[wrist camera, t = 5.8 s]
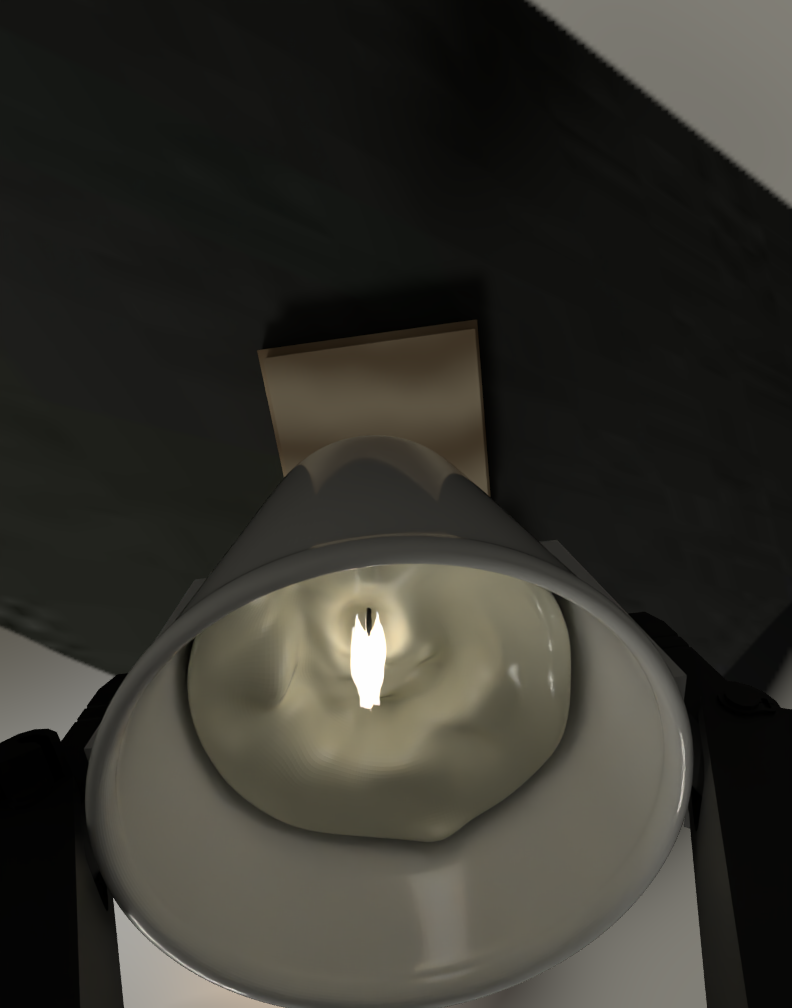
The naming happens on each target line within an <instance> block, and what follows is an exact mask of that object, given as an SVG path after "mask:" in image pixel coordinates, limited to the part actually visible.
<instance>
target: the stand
mask: <svg viewBox="0 0 792 1008" xmlns="http://www.w3.org/2000/svg"><path fill="white" fill-rule="evenodd" d="M257 351H258V356H259V361H260V366H261V370H262V375H263V380H264V385H265V389H266V394H267V399H268V403H269V408H270V413H271V418H272V422H273V427H274V432H275V437H276V441H277V446H278V451H279V456H280V460H281V465H282V470H283V474H284V477H285V476H286V475H287V474H288V473H289V472H290V471H291V470H292V469H293V468H294V467H295V466H296V465H297V464H298V463H299V462H301V461H302V460H303V459H305V458H306V457H307V456H309V455H310V454H312V453H313V452H315V451H317V450H319V449H320V448H322V447H324V446H327V445H329V444H331V443H334V442H337V441H340V440H343V439H347V438H351V437H357V436H365V435H385V436H394V437H399V438H403V439H407V440H411V441H414V442H416V443H419V444H421V445H424V446H426V447H428V448H430V449H432V450H433V451H435V452H437V453H438V454H440V455H441V456H443V457H444V458H446V459H447V460H448V461H450V462H451V463H452V464H453V465H455V466H456V467H457V468H458V469H459V470H461V471H462V472H463V473H464V474H465V475H466V476H467V477H469V478H470V479H471V480H472V481H473V482H474V483H475V484H476V485H478V486H479V487H480V488H481V489H482V490H483V491H484V492H485V493H486V494H487V495H489V496H490V483H489V470H488V457H487V444H486V431H485V418H484V405H483V392H482V379H481V365H480V352H479V339H478V326H477V320H470V321H462V322H455V323H448V324H441V325H434V326H427V327H420V328H413V329H405V330H398V331H391V332H384V333H377V334H370V335H363V336H355V337H348V338H341V339H334V340H327V341H320V342H313V343H305V344H298V345H291V346H284V347H277V348H270V349H263V350H257Z"/></svg>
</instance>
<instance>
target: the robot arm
mask: <svg viewBox="0 0 792 1008" xmlns="http://www.w3.org/2000/svg"><path fill="white" fill-rule="evenodd" d="M540 543H541V544H542V545H543V546H545V547H546V548H547V549H548V550H549V551H550V552H551V553H552V554H553V555H554V556H556V557H557V558H558V559H559V560H560V561H561V562H562V563H563V564H564V565H565V566H567V567H568V568H569V569H570V570H571V571H572V572H573V573H574V574H575V575H576V576H578V577H579V578H580V579H581V580H583V581H584V582H586V583H587V584H589V585H590V586H592V587H593V588H595V589H596V590H598V591H599V592H601V593H602V594H603V595H605V596H606V597H607V598H608V599H610V600H611V601H612V602H613V603H615V604H616V605H617V606H618V607H619V608H620V609H622V610H623V611H624V609H623V608H622V607H621V606H620V605H619V604H618V603H617V602H616V601H615V600H614V599H613V598H612V597H611V596H610V595H609V594H608V593H607V592H606V591H605V590H604V589H603V588H602V587H601V585H600V584H599V583H598V582H597V581H596V580H595V579H594V578H593V577H592V576H591V575H590V574H589V573H588V572H587V571H586V570H585V569H584V568H583V567H582V566H581V565H580V564H579V563H578V561H577V560H576V559H575V558H574V557H573V556H572V555H571V554H570V553H569V552H568V551H567V550H566V549H565V548H564V547H563V546H562V545H561V544H560V543H559V542H558V541H557V540H552V541H543V542H540ZM206 579H207V578H206ZM206 579H197V580H194V582H193V583H192V585H191V586H190V588H189V589H188V591H187V592H186V594H185V595H184V597H183V598H182V600H181V601H180V603H179V605H178V606H177V608H176V609H175V611H174V612H173V614H172V615H171V617H170V618H169V620H168V621H167V623H166V624H165V626H164V627H163V629H162V630H161V632H160V633H159V635H158V637H159V636H160V635H161V634H162V633H163V632H164V631H165V630H166V629H167V628H168V627H169V626H170V625H171V624H172V623H173V622H174V621H175V619H176V618H177V617H178V615H179V614H180V613H181V612H182V610H183V609H184V608H185V606H186V605H187V604H188V602H189V601H190V600H191V598H192V597H193V596H194V594H195V593H196V592H197V590H198V589H199V588H200V586H201V585H202V584H203V582H204V581H205V580H206ZM624 612H625V611H624ZM625 613H626V612H625ZM626 614H627V613H626ZM627 615H628V616H629V617H630V618H631V619H632V620H633V621H634V622H635V623H636V624H637V625H638V626H639V627H640V628H641V630H642V631H643V632H644V633H645V634H646V635H647V637H648V638H649V639H650V640H651V642H652V643H653V644H654V646H655V647H656V648H657V650H658V651H659V653H660V654H661V656H662V657H663V659H664V660H665V662H666V664H667V665H668V667H669V669H670V671H671V672H672V674H673V676H674V678H675V681H676V683H677V685H678V687H679V690H680V692H681V695H682V697H683V700H684V703H685V706H686V709H687V713H688V717H689V721H690V726H691V732H692V739H693V751H694V769H693V781H692V788H691V794H690V799H689V804H688V808H687V812H686V815H685V821H684V827H687V828H690V830H691V841H692V850H693V862H694V872H695V883H696V893H697V905H698V915H699V926H700V937H701V947H702V958H703V969H704V979H705V990H706V1000H707V1008H792V709H785V708H780V706H779V705H778V703H777V702H776V701H775V700H774V699H772V698H771V697H770V696H769V695H767V694H766V693H764V692H762V691H760V690H758V689H756V688H754V687H752V686H749V685H745V684H741V683H738V682H730V681H726V680H725V679H724V678H723V677H722V676H721V675H720V674H719V673H718V672H717V671H716V670H715V669H714V668H713V667H712V666H711V665H710V664H708V663H707V662H706V661H705V660H704V659H703V658H702V657H701V656H700V655H699V654H698V653H697V652H696V651H695V650H694V649H693V648H692V647H689V646H688V644H687V643H686V642H685V641H684V640H683V639H682V638H681V637H678V634H677V633H676V632H675V631H674V630H672V629H671V628H670V627H669V626H668V625H667V624H666V623H665V622H664V621H662V620H660V619H658V618H656V617H654V616H652V615H650V614H648V613H646V612H639V613H630V614H627ZM158 637H157V638H158ZM157 638H156V639H157ZM127 674H128V673H127ZM127 674H118V675H116V676H115V677H114V678H113V679H111V680H110V681H109V682H107V683H106V684H105V685H104V686H102V687H101V688H100V689H99V690H98V691H97V693H96V694H95V695H94V697H93V698H92V699H91V701H90V702H89V704H88V705H87V709H84V711H83V712H82V713H81V715H80V716H79V717H78V719H77V720H78V721H77V722H75V723H74V724H73V726H72V727H71V729H70V730H69V731H68V733H67V734H66V735H65V737H64V738H63V740H62V741H60V739H59V736H58V734H57V732H55V731H53V730H50V729H34V730H31V731H27V732H24V733H20V734H18V735H16V736H13V737H11V738H10V739H7V740H5V741H3V742H1V743H0V1008H124V1005H123V994H122V984H121V975H120V963H119V953H118V943H117V933H116V924H115V913H114V903H113V896H112V895H111V893H110V891H109V889H108V888H107V886H106V884H105V882H104V880H103V878H102V875H101V873H100V871H99V868H98V866H97V863H96V861H95V858H94V855H93V851H92V848H91V844H90V840H89V835H88V830H87V823H86V812H85V788H86V777H87V770H88V764H89V759H90V755H91V751H92V747H93V744H94V740H95V737H96V734H97V731H98V729H99V726H100V724H101V721H102V719H103V717H104V714H105V712H106V710H107V708H108V706H109V704H110V702H111V700H112V698H113V697H114V695H115V693H116V691H117V690H118V688H119V686H120V685H121V683H122V682H123V680H124V679H125V677H126V676H127Z"/></svg>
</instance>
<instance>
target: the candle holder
mask: <svg viewBox="0 0 792 1008" xmlns="http://www.w3.org/2000/svg"><path fill="white" fill-rule="evenodd" d="M693 769H694V751H693V739H692V732H691V726H690V721H689V717H688V713H687V709H686V706H685V703H684V700H683V697H682V695H681V692H680V690H679V687H678V685H677V683H676V681H675V678H674V676H673V674H672V672H671V671H670V669H669V667H668V665H667V664H666V662H665V660H664V659H663V657H662V656H661V654H660V653H659V651H658V650H657V648H656V647H655V646H654V644H653V643H652V642H651V640H650V639H649V638H648V637H647V635H646V634H645V633H644V632H643V631H642V630H641V628H640V627H639V626H638V625H637V624H636V623H635V622H634V621H633V620H632V619H631V618H630V617H629V616H628V615H627V614H626V613H625V612H624V611H623V610H622V609H620V608H619V607H618V606H617V605H616V604H615V603H613V602H612V601H611V600H610V599H608V598H607V597H606V596H605V595H603V594H602V593H601V592H599V591H598V590H596V589H595V588H593V587H592V586H590V585H589V584H587V583H586V582H584V581H583V580H581V579H580V578H579V577H578V576H576V575H575V574H574V573H573V572H572V571H571V570H570V569H569V568H568V567H567V566H565V565H564V564H563V563H562V562H561V561H560V560H559V559H558V558H557V557H556V556H554V555H553V554H552V553H551V552H550V551H549V550H548V549H547V548H546V547H545V546H543V545H542V544H541V543H540V542H539V541H538V540H537V539H536V538H535V537H534V536H532V535H531V534H530V533H529V532H528V531H527V530H526V529H525V528H524V527H523V526H521V525H520V524H519V523H518V522H517V521H516V520H515V519H514V518H513V517H512V516H511V515H509V514H508V513H507V512H506V511H505V510H504V509H503V508H502V507H501V506H500V505H498V504H497V503H496V502H495V501H494V500H493V499H492V498H491V497H490V496H489V495H487V494H486V493H485V492H484V491H483V490H482V489H481V488H480V487H479V486H478V485H476V484H475V483H474V482H473V481H472V480H471V479H470V478H469V477H467V476H466V475H465V474H464V473H463V472H462V471H461V470H459V469H458V468H457V467H456V466H455V465H453V464H452V463H451V462H450V461H448V460H447V459H446V458H444V457H443V456H441V455H440V454H438V453H437V452H435V451H433V450H432V449H430V448H428V447H426V446H424V445H421V444H419V443H416V442H414V441H411V440H407V439H403V438H399V437H394V436H385V435H365V436H357V437H351V438H347V439H343V440H340V441H337V442H334V443H331V444H329V445H327V446H324V447H322V448H320V449H319V450H317V451H315V452H313V453H312V454H310V455H309V456H307V457H306V458H305V459H303V460H302V461H301V462H299V463H298V464H297V465H296V466H295V467H294V468H293V469H292V470H291V471H290V472H289V473H288V474H287V475H286V476H285V477H284V478H283V479H282V481H281V482H280V483H279V484H278V485H277V487H276V488H275V489H274V490H273V492H272V493H271V494H270V495H269V497H268V498H267V499H266V501H265V502H264V503H263V505H262V506H261V507H260V508H259V510H258V511H257V512H256V514H255V515H254V516H253V518H252V519H251V520H250V522H249V523H248V524H247V526H246V527H245V528H244V530H243V531H242V532H241V534H240V535H239V536H238V538H237V539H236V540H235V541H234V543H233V544H232V545H231V547H230V548H229V549H228V551H227V552H226V553H225V555H224V556H223V557H222V559H221V560H220V561H219V563H218V564H217V565H216V567H215V568H214V569H213V571H212V572H211V573H210V575H209V576H208V577H207V579H206V580H205V581H204V582H203V584H202V585H201V586H200V588H199V589H198V590H197V592H196V593H195V594H194V596H193V597H192V598H191V600H190V601H189V602H188V604H187V605H186V606H185V608H184V609H183V610H182V612H181V613H180V614H179V615H178V617H177V618H176V619H175V621H174V622H173V623H172V624H171V625H170V626H169V627H168V628H167V629H166V630H165V631H164V632H163V633H162V634H161V635H160V636H159V637H158V638H157V639H156V640H155V641H154V642H153V643H152V644H151V645H150V646H149V647H148V649H147V650H146V651H145V652H144V653H143V654H142V656H141V657H140V658H139V659H138V661H137V662H136V663H135V664H134V666H133V667H132V668H131V670H130V671H129V673H128V674H127V676H126V677H125V679H124V680H123V682H122V683H121V685H120V686H119V688H118V690H117V691H116V693H115V695H114V697H113V698H112V700H111V702H110V704H109V706H108V708H107V710H106V712H105V714H104V717H103V719H102V721H101V724H100V726H99V729H98V731H97V734H96V737H95V740H94V744H93V747H92V751H91V755H90V759H89V764H88V770H87V777H86V788H85V812H86V823H87V830H88V835H89V840H90V844H91V848H92V851H93V855H94V858H95V861H96V863H97V866H98V868H99V871H100V873H101V875H102V878H103V880H104V882H105V884H106V886H107V888H108V889H109V891H110V893H111V895H112V896H113V898H114V899H115V901H116V902H117V904H118V905H119V907H120V908H121V910H122V911H123V912H124V913H125V915H126V916H127V917H128V919H129V920H130V921H131V922H132V923H133V924H134V926H135V927H136V928H137V929H138V930H139V931H140V932H141V933H142V934H143V935H144V936H145V937H146V938H147V939H148V940H149V941H151V942H152V943H153V944H154V945H155V946H156V947H157V948H159V949H160V950H161V951H162V952H163V953H165V954H166V955H167V956H169V957H170V958H171V959H173V960H174V961H176V962H177V963H179V964H180V965H181V966H183V967H185V968H186V969H188V970H189V971H191V972H193V973H195V974H196V975H198V976H200V977H202V978H204V979H205V980H208V981H209V982H211V983H213V984H216V985H218V986H220V987H222V988H225V989H227V990H229V991H232V992H234V993H237V994H240V995H243V996H245V997H249V998H251V999H254V1000H258V1001H261V1002H264V1003H269V1004H272V1005H276V1006H281V1007H285V1008H442V1007H448V1006H452V1005H456V1004H460V1003H464V1002H468V1001H472V1000H475V999H479V998H482V997H485V996H488V995H491V994H494V993H497V992H500V991H502V990H505V989H507V988H510V987H512V986H515V985H517V984H520V983H522V982H524V981H527V980H529V979H531V978H533V977H535V976H537V975H539V974H541V973H543V972H545V971H547V970H549V969H551V968H552V967H554V966H556V965H558V964H559V963H561V962H563V961H564V960H566V959H568V958H569V957H571V956H573V955H574V954H575V953H577V952H579V951H580V950H582V949H583V948H584V947H586V946H587V945H589V944H590V943H591V942H593V941H594V940H595V939H597V938H598V937H599V936H600V935H601V934H603V933H604V932H605V931H606V930H608V929H609V928H610V927H611V926H612V925H613V924H614V923H615V922H616V921H618V920H619V919H620V918H621V917H622V916H623V915H624V914H625V913H626V912H627V911H628V910H629V909H630V908H631V907H632V905H633V904H634V903H635V902H636V901H637V900H638V898H639V897H640V896H641V895H642V894H643V893H644V891H645V890H646V889H647V887H648V886H649V885H650V884H651V882H652V881H653V879H654V878H655V877H656V875H657V874H658V872H659V871H660V869H661V867H662V866H663V864H664V863H665V861H666V859H667V857H668V855H669V853H670V852H671V849H672V848H673V846H674V844H675V842H676V839H677V837H678V835H679V832H680V830H681V827H682V824H683V821H684V818H685V815H686V812H687V808H688V804H689V799H690V794H691V788H692V781H693Z"/></svg>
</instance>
